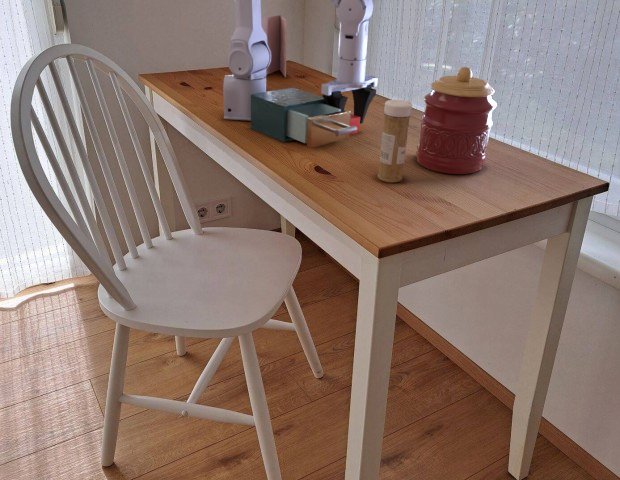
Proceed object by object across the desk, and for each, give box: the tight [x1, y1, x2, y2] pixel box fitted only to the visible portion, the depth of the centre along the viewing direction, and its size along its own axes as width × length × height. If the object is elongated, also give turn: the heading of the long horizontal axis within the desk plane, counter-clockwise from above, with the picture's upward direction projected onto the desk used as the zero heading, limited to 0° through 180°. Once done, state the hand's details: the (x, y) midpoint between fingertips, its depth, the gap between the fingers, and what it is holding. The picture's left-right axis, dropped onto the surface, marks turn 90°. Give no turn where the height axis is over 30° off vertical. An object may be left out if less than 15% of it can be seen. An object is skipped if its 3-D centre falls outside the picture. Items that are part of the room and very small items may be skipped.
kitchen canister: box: [416, 66, 497, 175], centre depth 109 cm, size 13×13×18 cm
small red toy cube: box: [349, 113, 361, 136], centre depth 127 cm, size 4×4×3 cm
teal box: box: [250, 87, 327, 143], centre depth 125 cm, size 11×12×7 cm
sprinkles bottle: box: [377, 99, 413, 184], centre depth 102 cm, size 5×5×13 cm
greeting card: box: [261, 14, 288, 78], centre depth 170 cm, size 11×7×15 cm, turn 157°
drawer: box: [286, 103, 357, 149], centre depth 119 cm, size 15×10×6 cm
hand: (347, 125), depth 127 cm, fingers open, 6 cm apart
